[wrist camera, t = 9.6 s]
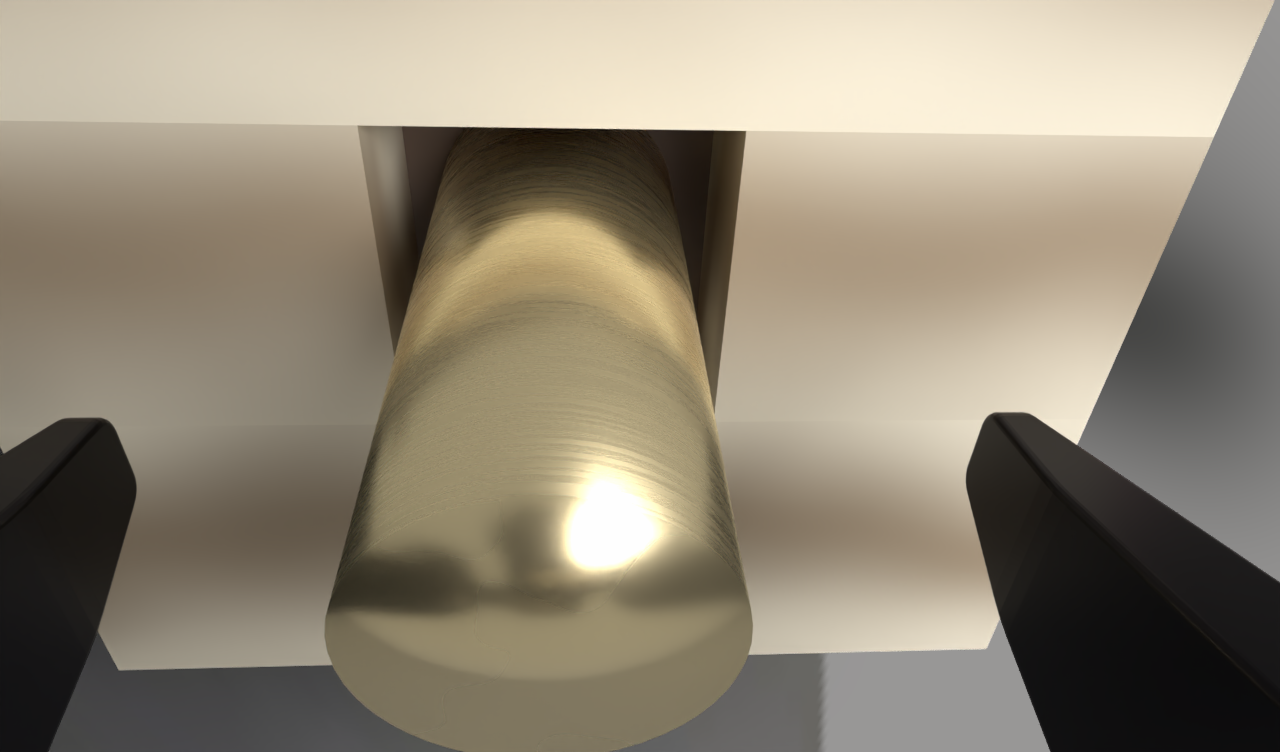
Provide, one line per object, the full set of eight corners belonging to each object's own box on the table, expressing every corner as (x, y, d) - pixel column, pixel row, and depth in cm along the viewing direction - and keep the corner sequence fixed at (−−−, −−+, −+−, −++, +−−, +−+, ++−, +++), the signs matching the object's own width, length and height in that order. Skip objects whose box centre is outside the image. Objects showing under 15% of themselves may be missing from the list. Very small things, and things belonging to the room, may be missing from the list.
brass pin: (665, 298, 15) (730, 753, 9) (452, 298, 15) (359, 765, 8) (679, 91, 13) (779, 494, 7) (429, 87, 13) (284, 500, 6)
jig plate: (930, 514, 20) (986, 648, 17) (185, 525, 19) (118, 669, 16) (1256, -469, 10) (1507, -524, 8) (-237, -559, 9) (-587, -658, 6)
